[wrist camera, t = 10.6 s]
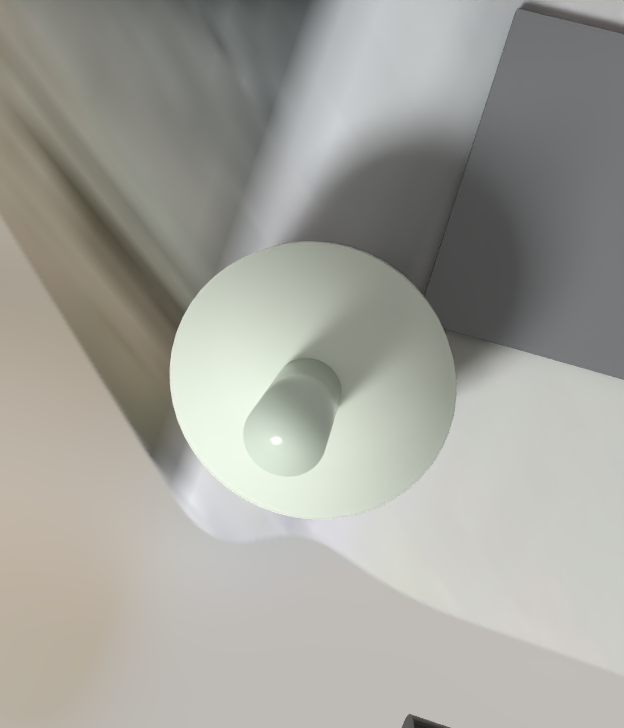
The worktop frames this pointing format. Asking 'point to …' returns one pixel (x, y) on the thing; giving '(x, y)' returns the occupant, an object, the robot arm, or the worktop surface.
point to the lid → (313, 380)
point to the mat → (543, 202)
